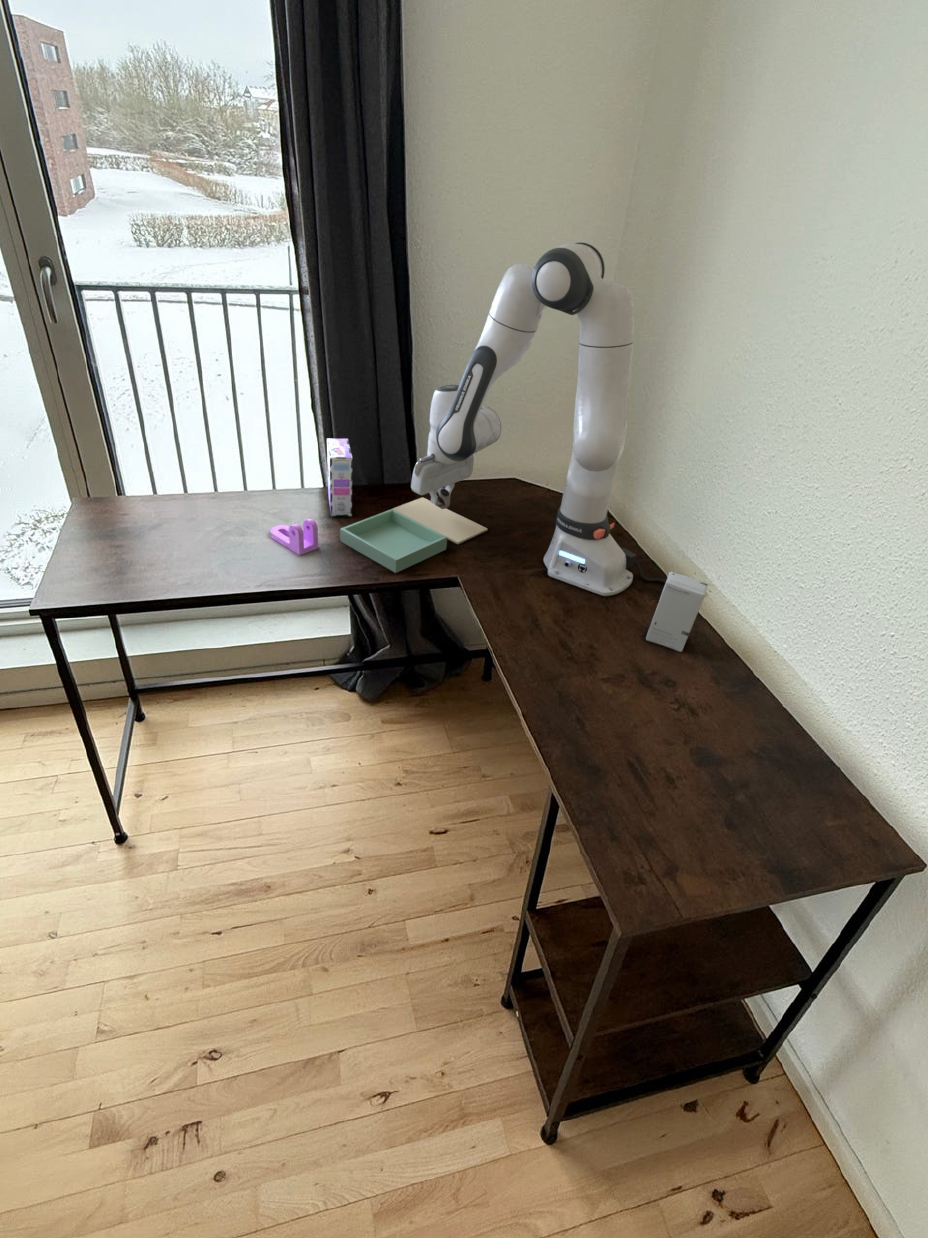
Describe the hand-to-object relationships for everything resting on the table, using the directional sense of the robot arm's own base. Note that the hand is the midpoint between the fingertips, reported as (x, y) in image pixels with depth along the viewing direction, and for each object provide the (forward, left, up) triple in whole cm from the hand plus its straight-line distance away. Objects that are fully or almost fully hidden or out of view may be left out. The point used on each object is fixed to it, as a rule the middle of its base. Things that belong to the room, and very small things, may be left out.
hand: (440, 500), depth 176 cm
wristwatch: (0, 0, -2) cm, 2 cm away
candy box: (+23, +15, -6) cm, 28 cm away
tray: (-2, +19, -6) cm, 20 cm away
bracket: (+15, +37, -6) cm, 40 cm away
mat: (0, 0, -6) cm, 6 cm away
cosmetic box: (-69, +2, -6) cm, 69 cm away
